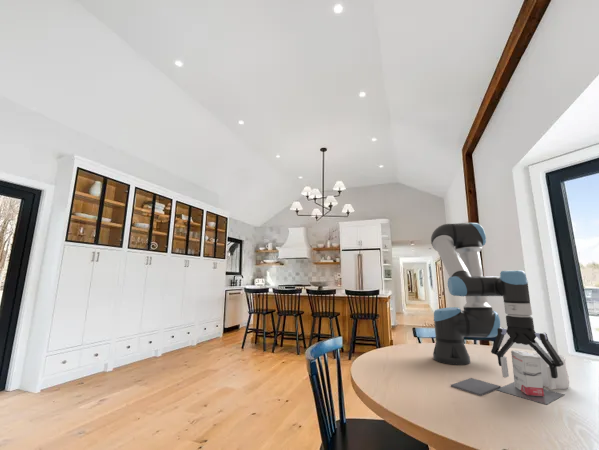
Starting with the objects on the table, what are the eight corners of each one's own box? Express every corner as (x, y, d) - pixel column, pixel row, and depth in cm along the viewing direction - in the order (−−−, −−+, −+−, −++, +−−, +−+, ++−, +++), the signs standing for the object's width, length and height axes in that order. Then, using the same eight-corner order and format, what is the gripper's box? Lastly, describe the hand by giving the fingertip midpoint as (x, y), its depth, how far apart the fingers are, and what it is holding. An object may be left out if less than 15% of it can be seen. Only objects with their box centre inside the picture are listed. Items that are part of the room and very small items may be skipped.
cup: (528, 382, 105) (524, 353, 107) (544, 378, 109) (540, 351, 111) (559, 391, 97) (554, 360, 99) (576, 386, 101) (571, 357, 103)
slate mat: (495, 390, 99) (495, 389, 99) (515, 382, 106) (515, 381, 106) (546, 404, 87) (546, 403, 87) (564, 394, 94) (564, 393, 94)
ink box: (546, 397, 92) (540, 356, 94) (527, 395, 93) (522, 356, 95) (530, 387, 100) (525, 350, 102) (514, 386, 101) (509, 349, 103)
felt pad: (451, 386, 102) (450, 384, 102) (471, 379, 109) (471, 377, 109) (480, 396, 94) (480, 394, 94) (500, 387, 100) (500, 386, 100)
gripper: (476, 312, 109) (483, 374, 105) (559, 320, 88) (572, 397, 85) (486, 311, 113) (493, 370, 109) (568, 318, 92) (581, 391, 88)
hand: (528, 382), depth 97 cm, fingers open, 12 cm apart
